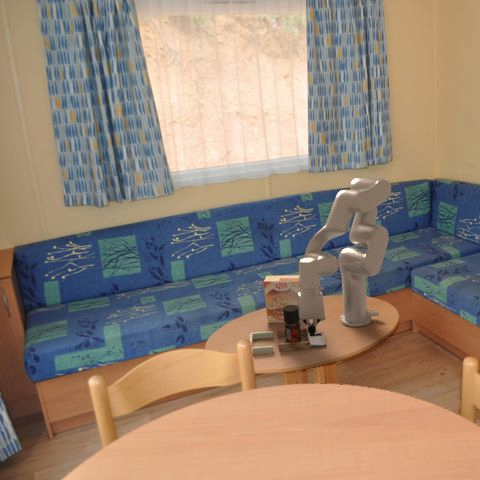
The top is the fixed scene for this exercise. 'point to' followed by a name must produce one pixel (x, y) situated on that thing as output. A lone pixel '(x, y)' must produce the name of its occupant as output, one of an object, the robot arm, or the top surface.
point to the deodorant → (291, 324)
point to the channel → (293, 345)
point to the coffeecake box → (280, 295)
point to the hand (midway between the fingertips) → (312, 334)
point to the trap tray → (317, 340)
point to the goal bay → (260, 336)
